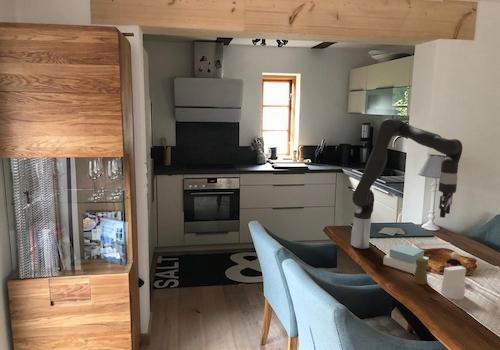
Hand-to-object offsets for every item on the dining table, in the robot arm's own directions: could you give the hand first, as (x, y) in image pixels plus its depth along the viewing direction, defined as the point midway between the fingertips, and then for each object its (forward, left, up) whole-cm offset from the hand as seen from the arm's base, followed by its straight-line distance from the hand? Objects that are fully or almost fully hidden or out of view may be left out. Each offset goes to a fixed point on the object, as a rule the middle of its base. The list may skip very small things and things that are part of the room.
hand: (444, 215), depth 193 cm
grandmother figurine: (+7, -2, -29) cm, 30 cm away
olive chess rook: (-1, -18, -29) cm, 34 cm away
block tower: (-15, -4, -28) cm, 32 cm away
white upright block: (+14, -20, -29) cm, 38 cm away
